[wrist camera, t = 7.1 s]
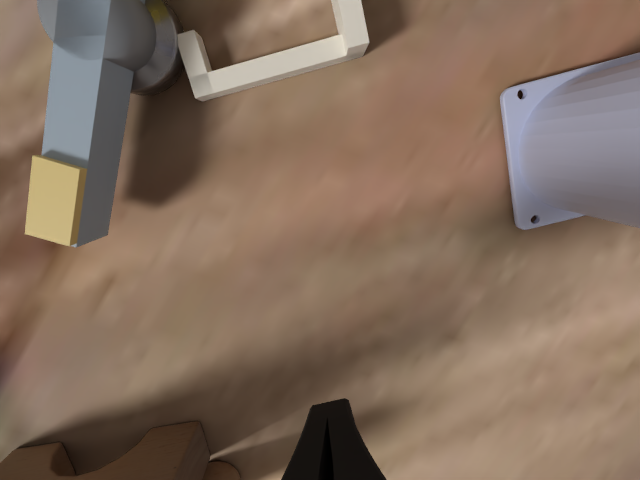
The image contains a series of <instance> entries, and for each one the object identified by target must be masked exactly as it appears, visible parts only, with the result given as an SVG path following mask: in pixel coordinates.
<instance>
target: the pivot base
mask: <svg viewBox="0 0 640 480" xmlns="http://www.w3.org/2000/svg"><path fill="white" fill-rule="evenodd" d="M145 6H146V7H147V8H148V10H149V12H150V13H151V16H152V18H153V20H154V23H155V28H156V46H155V50H154V53H153V55H152V57H151V58H150V60H149V61H148V62H147V64H146V65H145V66H143V67H142V68H141V69H139V70H137V71H135V72H134V74H133V80H132V86H131V93H132V94H137V95H153V94H158V93H160V92H163V91H165V90H166V89H168V88H169V87H171V86H172V85H173V84H174V83H175V82H176V81H177V79H178V78H179V77H180V75H181V73H182V71H183V68H184V63H183V60H182V57H181V54H180V50H179V47H178V36H177V35H178V34H181V33H184V30H183V27H182V25H181V23H180V21H179V19H178V17H177V16H176V14H175V13H174V12H173V10H172V9H171V8H170V7H169V6H168V5H167V4H166V3H165V2H164V1H163V0H145Z"/></svg>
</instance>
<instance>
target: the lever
mask: <svg viewBox="0 0 640 480" xmlns="http://www.w3.org/2000/svg"><path fill="white" fill-rule="evenodd" d="M37 5H38V13H39V17H40V20H41V23H42V25H43V27H44V29H45V31H46V33H47V34H48V36H49V37H50V39H51V40H52V41H53V42H54V44H53V53H52V63H51V72H50V82H49V91H48V101H47V110H46V120H45V129H44V138H43V148H42V155H35V156H33V157H32V167H31V177H30V187H29V197H28V207H27V217H26V227H25V234H27V235H31V236H35V237H38V238H42V239H45V240H49V241H52V242H56V243H60V244H63V245H67V246H73V247H79V246H81V245H84V244H86V243H89V242H91V241H94V240H96V239H99V238H101V237H104V236H106V235H108V230H109V223H110V217H111V211H112V205H113V198H114V192H115V186H116V180H117V174H118V167H119V161H120V155H121V149H122V142H123V136H124V130H125V124H126V118H127V111H128V105H129V99H130V93H131V86H132V80H133V74H134V72H135V71H137V70H139V69H141V68H142V67H143V66H145V65H146V64H147V62H148V61H149V60H150V58H151V57H152V55H153V53H154V50H155V46H156V28H155V23H154V20H153V18H152V16H151V13H150V12H149V10H148V8H147V7H146V6H145V0H37Z"/></svg>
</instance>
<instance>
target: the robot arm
mask: <svg viewBox="0 0 640 480" xmlns="http://www.w3.org/2000/svg"><path fill="white" fill-rule="evenodd" d="M519 90H521V91H522V93H523V97H522V98H521V99H519V98H518V96H517V93H518V91H519ZM500 103H501V112H502V120H503V128H504V137H505V145H506V153H507V162H508V170H509V178H510V187H511V195H512V203H513V212H514V220H515V225H516V226H517V227H518V228H520V229H523V230H528V229H532V228H536V227H540V226H544V225H548V224H552V223H556V222H561V221H565V220H569V219H573V218H577V217H581V216H585V215H587V216H591V217H595V218H600V219H604V220H608V221H612V222H616V223H620V224H625V225H629V226H633V227H637V228H640V52H639V53H636V54H632V55H628V56H624V57H621V58H617V59H613V60H610V61H606V62H602V63H598V64H595V65H591V66H587V67H583V68H580V69H576V70H572V71H569V72H565V73H561V74H557V75H554V76H550V77H546V78H543V79H539V80H535V81H531V82H528V83H524V84H520V85H517V86H513V87H510V88H507V89H505V90H504V91H503V92H502V94H501V96H500ZM534 215H535V216H536V219H535V221H534V222H532V223H531V218H532V216H534ZM281 480H386V478H385V477H384V475H383V474H382V472H381V471H380V469H379V468H378V466H377V464H376V463H375V461H374V459H373V458H372V456H371V454H370V453H369V451H368V449H367V447H366V445H365V444H364V442H363V440H362V438H361V436H360V434H359V432H358V429H357V427H356V425H355V421H354V418H353V414H352V410H351V407H350V403H349V400H347V399H345V398H344V399H340V400H335V401H331V402H326V403H322V404H317V405H313V406H312V407H311V408H310V411H309V414H308V417H307V420H306V423H305V426H304V429H303V431H302V434H301V437H300V439H299V442H298V444H297V446H296V449H295V451H294V454H293V456H292V458H291V460H290V462H289V465H288V467H287V469H286V471H285V473H284V475H283V477H282V479H281Z"/></svg>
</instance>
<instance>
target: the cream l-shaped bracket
mask: <svg viewBox="0 0 640 480" xmlns="http://www.w3.org/2000/svg"><path fill="white" fill-rule="evenodd" d="M331 2H332V7H333V11H334V16H335V20H336V25H337V30H338V34H339V35H337V36H333V37H330V38H326V39H323V40H319V41H316V42H312V43H309V44H305V45H302V46H298V47H295V48H291V49H288V50H284V51H281V52H277V53H274V54H270V55H267V56H263V57H260V58H256V59H253V60H249V61H246V62H242V63H239V64H235V65H232V66H228V67H225V68H221V69H218V70H214V71H212V69H211V66H210V63H209V59H208V56H207V53H206V50H205V46H204V43H203V40H202V37H201V36H200V35H199V34H198V33H197V32H196V31H195V30H191V31H188V32H184V33H181V34H178V35H177V36H178V47H179V50H180V54H181V57H182V60H183V63H184V66H185V69H186V72H187V75H188V78H189V81H190V84H191V87H192V90H193V93H194V97H195V99H198V100H200V101H206V100H210V99H214V98H217V97H221V96H224V95H228V94H231V93H235V92H238V91H242V90H246V89H249V88H253V87H256V86H260V85H263V84H267V83H270V82H274V81H278V80H281V79H285V78H288V77H292V76H295V75H299V74H302V73H306V72H310V71H313V70H317V69H320V68H324V67H327V66H331V65H334V64H338V63H342V62H345V61H349V60H352V59H356V58H359V57H363V55H364V53H365V51H366V49H367V46H368V44H369V38H368V33H367V28H366V23H365V18H364V13H363V8H362V3H361V0H331Z"/></svg>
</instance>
